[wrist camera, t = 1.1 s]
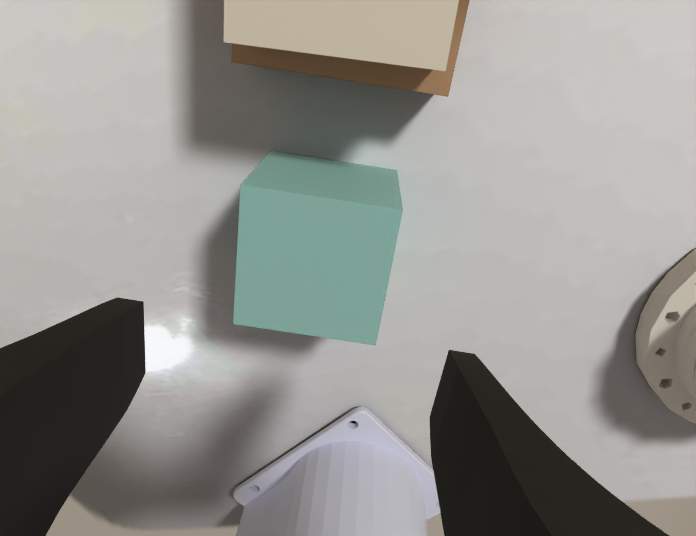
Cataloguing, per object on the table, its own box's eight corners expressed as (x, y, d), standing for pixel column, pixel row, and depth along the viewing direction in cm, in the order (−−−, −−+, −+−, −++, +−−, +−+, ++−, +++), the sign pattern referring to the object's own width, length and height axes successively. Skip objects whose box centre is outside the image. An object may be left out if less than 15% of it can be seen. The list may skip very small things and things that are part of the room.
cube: (375, 281, 22) (375, 345, 18) (262, 264, 22) (233, 324, 17) (396, 169, 20) (402, 209, 15) (271, 150, 20) (240, 184, 15)
